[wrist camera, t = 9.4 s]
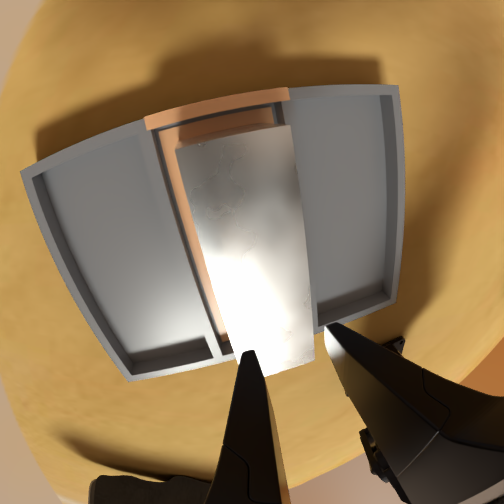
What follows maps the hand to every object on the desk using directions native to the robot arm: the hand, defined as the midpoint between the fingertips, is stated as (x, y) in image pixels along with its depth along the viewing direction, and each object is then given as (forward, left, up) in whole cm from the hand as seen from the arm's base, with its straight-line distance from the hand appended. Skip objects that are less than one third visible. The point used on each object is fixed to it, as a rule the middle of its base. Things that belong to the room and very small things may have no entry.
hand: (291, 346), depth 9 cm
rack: (0, 0, -9) cm, 9 cm away
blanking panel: (0, 0, -8) cm, 8 cm away
